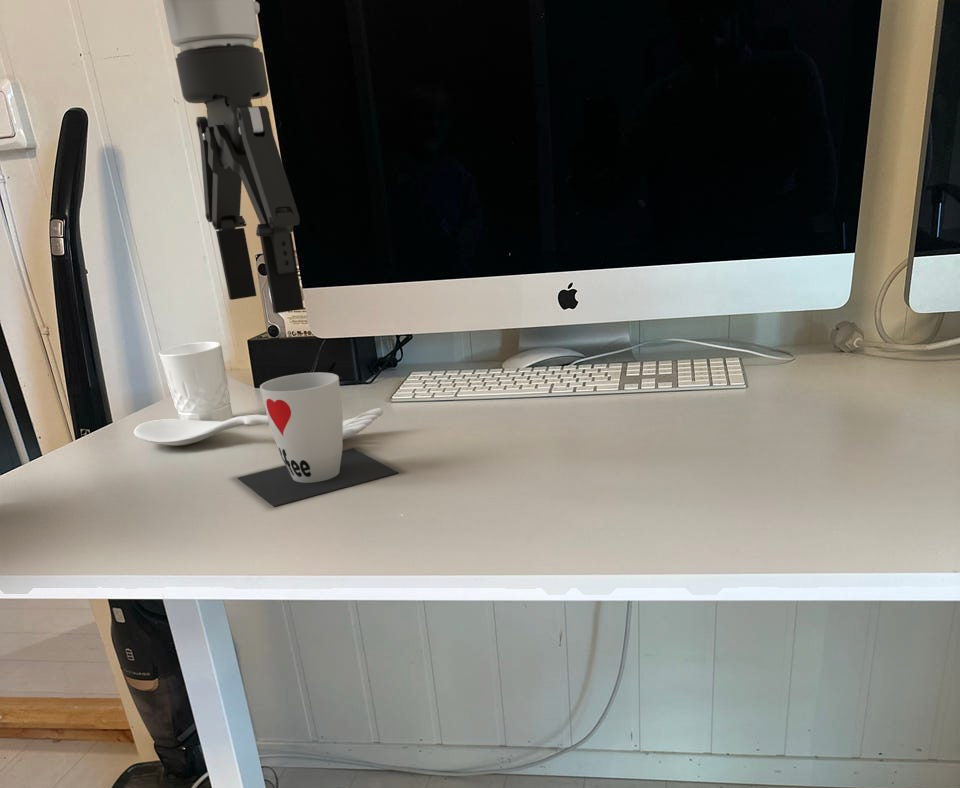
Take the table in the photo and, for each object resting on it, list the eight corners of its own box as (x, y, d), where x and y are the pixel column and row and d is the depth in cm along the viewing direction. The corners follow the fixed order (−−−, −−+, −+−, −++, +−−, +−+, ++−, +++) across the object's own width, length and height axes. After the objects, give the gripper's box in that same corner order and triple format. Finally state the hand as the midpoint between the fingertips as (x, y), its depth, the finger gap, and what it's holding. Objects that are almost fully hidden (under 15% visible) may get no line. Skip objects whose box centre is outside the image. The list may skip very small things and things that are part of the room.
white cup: (244, 423, 120) (227, 346, 115) (185, 437, 117) (166, 358, 112) (228, 412, 126) (211, 339, 122) (172, 425, 123) (152, 349, 119)
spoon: (357, 456, 103) (352, 426, 101) (124, 454, 113) (116, 426, 111) (387, 432, 110) (383, 404, 109) (166, 432, 120) (159, 406, 118)
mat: (274, 506, 91) (273, 505, 91) (237, 478, 100) (237, 477, 100) (398, 473, 96) (398, 472, 96) (353, 449, 106) (353, 448, 106)
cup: (270, 473, 100) (250, 382, 95) (339, 457, 103) (324, 368, 98) (291, 493, 93) (272, 396, 89) (364, 475, 96) (349, 380, 92)
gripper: (310, 26, 71) (350, 310, 81) (218, 62, 90) (259, 287, 100) (217, 29, 68) (270, 324, 78) (142, 65, 87) (193, 298, 97)
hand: (264, 304), depth 89 cm, fingers open, 13 cm apart
